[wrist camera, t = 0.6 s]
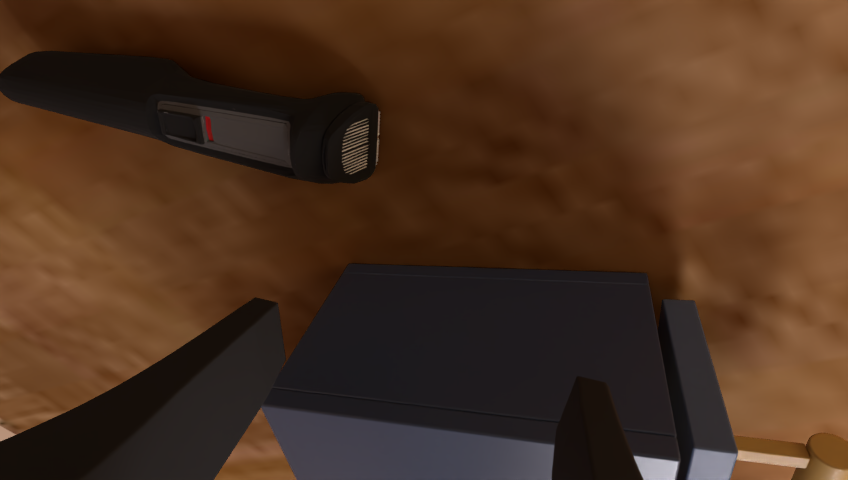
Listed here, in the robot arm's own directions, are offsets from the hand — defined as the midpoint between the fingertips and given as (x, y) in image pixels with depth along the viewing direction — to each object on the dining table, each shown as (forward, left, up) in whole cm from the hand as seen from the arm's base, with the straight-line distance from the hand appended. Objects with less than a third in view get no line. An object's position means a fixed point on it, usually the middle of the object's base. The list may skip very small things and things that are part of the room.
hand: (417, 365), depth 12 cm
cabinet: (-11, 0, -10) cm, 15 cm away
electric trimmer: (+4, +11, -10) cm, 16 cm away
